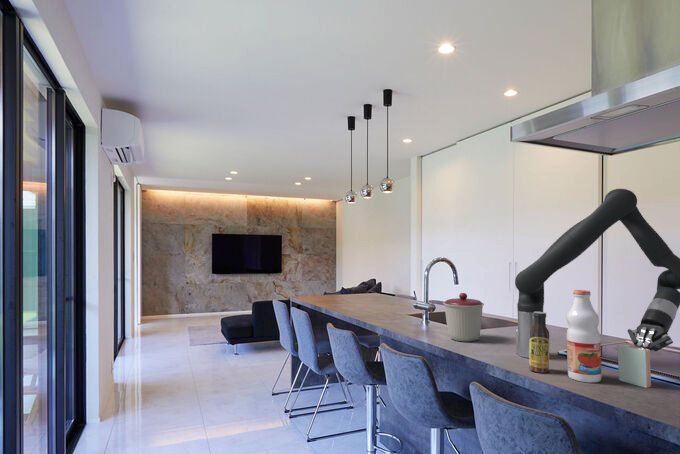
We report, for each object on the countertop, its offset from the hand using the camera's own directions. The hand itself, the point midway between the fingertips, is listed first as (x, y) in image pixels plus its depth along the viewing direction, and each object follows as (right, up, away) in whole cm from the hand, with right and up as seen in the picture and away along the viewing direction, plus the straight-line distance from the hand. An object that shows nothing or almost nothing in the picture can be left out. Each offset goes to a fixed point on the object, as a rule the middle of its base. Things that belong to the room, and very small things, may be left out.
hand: (638, 358), depth 132 cm
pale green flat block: (-2, -7, -2) cm, 8 cm away
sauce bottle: (-26, -8, +12) cm, 29 cm away
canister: (-37, -11, +61) cm, 72 cm away
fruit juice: (-15, -8, +3) cm, 17 cm away
